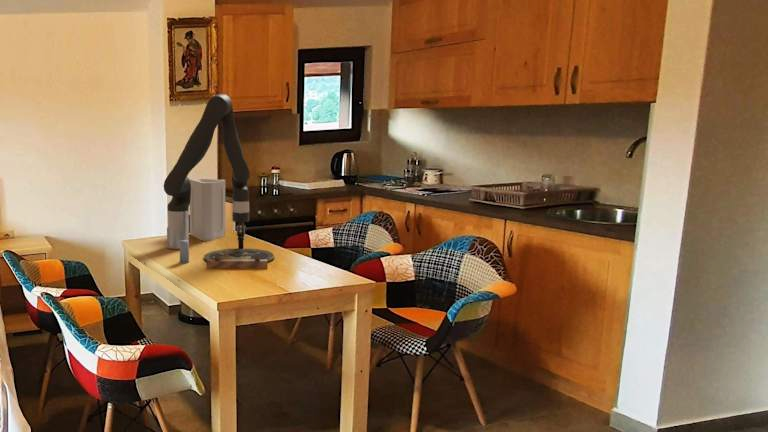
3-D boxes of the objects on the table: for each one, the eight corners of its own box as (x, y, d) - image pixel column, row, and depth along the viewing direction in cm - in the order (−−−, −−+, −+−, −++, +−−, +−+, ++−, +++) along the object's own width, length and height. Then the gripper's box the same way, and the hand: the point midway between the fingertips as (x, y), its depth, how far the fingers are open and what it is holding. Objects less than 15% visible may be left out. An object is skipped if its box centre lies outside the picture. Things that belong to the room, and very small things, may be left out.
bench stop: (206, 268, 275) (206, 253, 274) (207, 266, 278) (207, 252, 277) (267, 268, 279) (267, 253, 278) (267, 266, 282) (267, 252, 281)
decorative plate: (235, 245, 315) (288, 253, 300) (235, 249, 315) (288, 257, 301) (188, 257, 289) (243, 266, 274) (188, 261, 289) (243, 271, 275)
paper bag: (231, 238, 338) (232, 182, 334) (202, 240, 330) (202, 183, 325) (217, 232, 354) (217, 178, 349) (189, 234, 345) (188, 178, 341)
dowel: (179, 263, 282) (179, 241, 281) (180, 261, 286) (180, 240, 284) (188, 263, 283) (188, 241, 281) (189, 261, 286) (189, 240, 285)
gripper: (232, 208, 313) (233, 245, 316) (231, 213, 300) (231, 251, 303) (249, 208, 314) (249, 245, 317) (249, 213, 301) (249, 251, 304)
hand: (240, 248), depth 310 cm, fingers closed
